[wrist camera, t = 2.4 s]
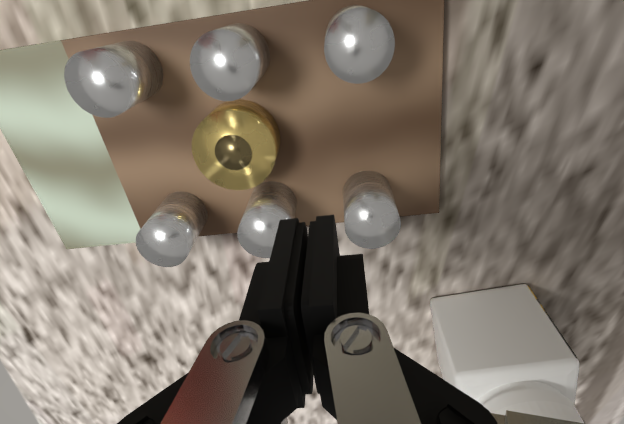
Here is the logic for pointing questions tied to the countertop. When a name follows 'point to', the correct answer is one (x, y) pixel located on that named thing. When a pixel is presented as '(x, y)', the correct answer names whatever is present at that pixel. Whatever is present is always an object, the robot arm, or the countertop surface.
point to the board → (198, 105)
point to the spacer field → (228, 87)
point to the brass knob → (236, 145)
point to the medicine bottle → (506, 352)
